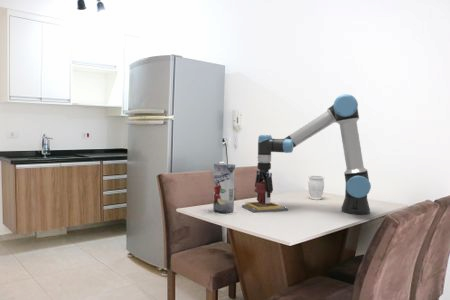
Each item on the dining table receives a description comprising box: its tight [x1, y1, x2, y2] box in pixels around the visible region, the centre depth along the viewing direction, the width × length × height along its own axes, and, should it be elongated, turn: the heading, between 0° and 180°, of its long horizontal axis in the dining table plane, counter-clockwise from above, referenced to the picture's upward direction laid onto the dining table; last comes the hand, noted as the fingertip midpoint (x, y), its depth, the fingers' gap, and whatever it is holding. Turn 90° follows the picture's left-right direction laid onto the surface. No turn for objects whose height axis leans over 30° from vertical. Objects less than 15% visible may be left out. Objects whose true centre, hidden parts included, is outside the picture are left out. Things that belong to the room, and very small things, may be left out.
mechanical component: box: [254, 180, 273, 204], centre depth 210 cm, size 12×10×10 cm
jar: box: [307, 175, 325, 201], centre depth 250 cm, size 11×10×15 cm
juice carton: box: [212, 161, 236, 214], centre depth 200 cm, size 9×10×27 cm
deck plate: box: [241, 201, 289, 213], centre depth 211 cm, size 16×21×3 cm
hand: (263, 201), depth 210 cm, fingers closed on mechanical component, 10 cm apart
